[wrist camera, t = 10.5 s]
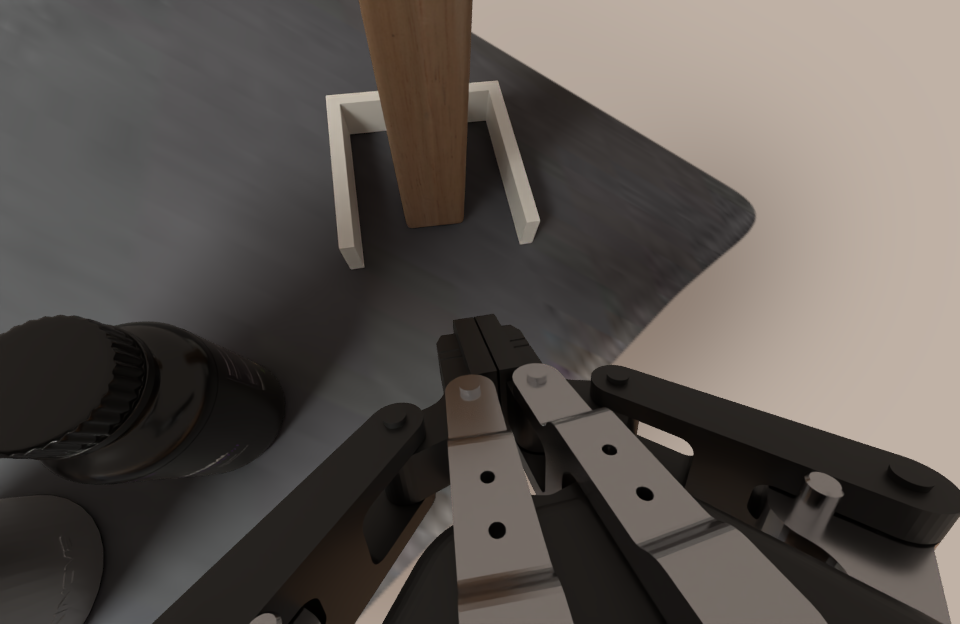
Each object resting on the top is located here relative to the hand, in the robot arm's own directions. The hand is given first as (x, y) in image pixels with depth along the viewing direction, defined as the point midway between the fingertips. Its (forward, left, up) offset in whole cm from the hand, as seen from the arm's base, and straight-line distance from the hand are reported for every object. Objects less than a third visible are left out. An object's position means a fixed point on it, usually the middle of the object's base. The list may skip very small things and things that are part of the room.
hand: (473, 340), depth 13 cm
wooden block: (0, +17, -12) cm, 21 cm away
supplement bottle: (-15, +1, -12) cm, 19 cm away
